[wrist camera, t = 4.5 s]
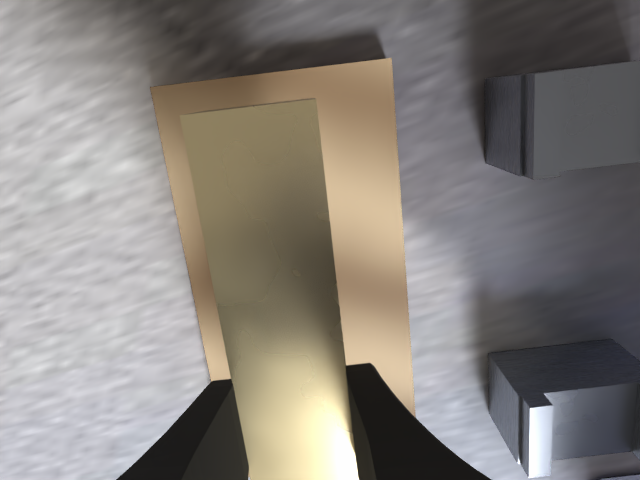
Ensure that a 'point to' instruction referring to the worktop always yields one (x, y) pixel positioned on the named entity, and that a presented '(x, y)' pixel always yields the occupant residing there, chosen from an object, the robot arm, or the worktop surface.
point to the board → (342, 194)
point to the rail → (275, 284)
